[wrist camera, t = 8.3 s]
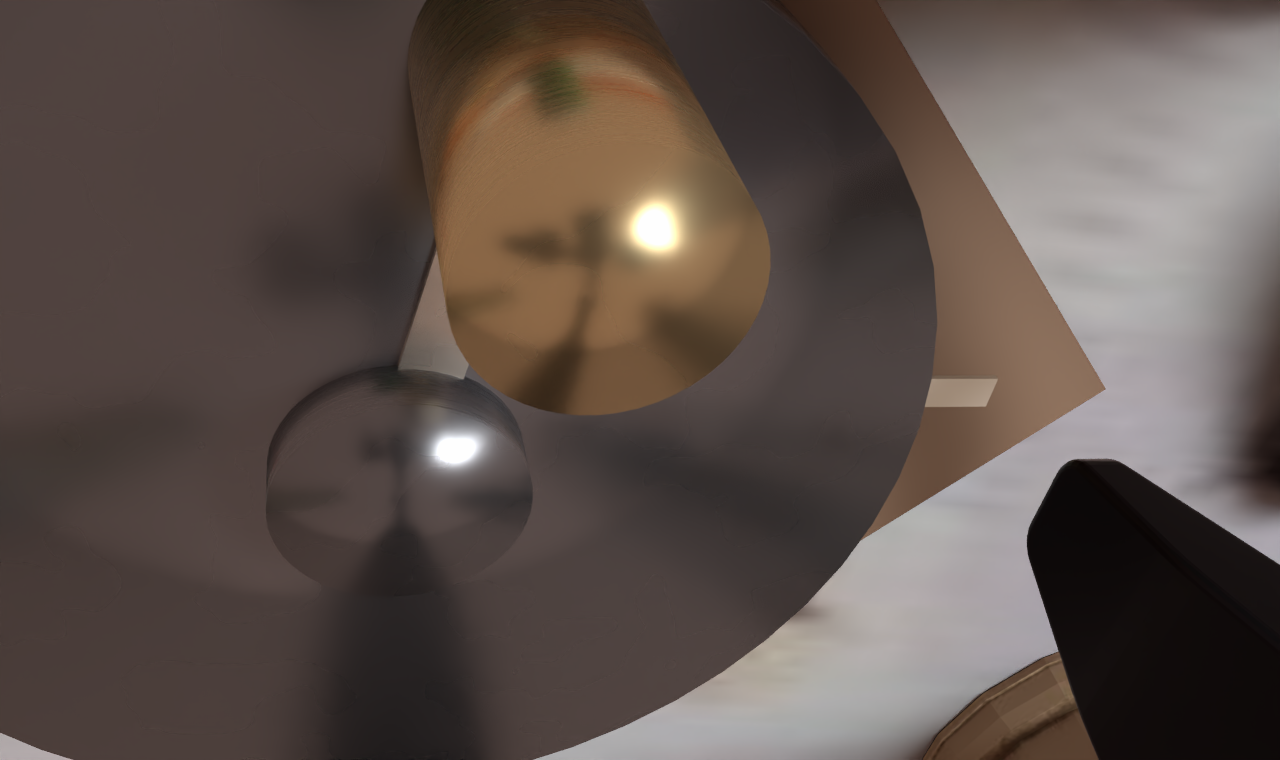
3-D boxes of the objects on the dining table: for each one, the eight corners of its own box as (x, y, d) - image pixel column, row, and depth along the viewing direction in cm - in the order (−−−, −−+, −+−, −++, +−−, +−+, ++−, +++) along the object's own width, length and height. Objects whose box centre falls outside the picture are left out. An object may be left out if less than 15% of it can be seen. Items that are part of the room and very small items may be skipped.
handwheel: (676, 744, 29) (754, 1026, 24) (-229, 710, 22) (-376, 1098, 17) (1101, 52, 19) (1379, 290, 14) (-279, -407, 12) (-658, -248, 7)
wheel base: (357, 741, 32) (362, 851, 29) (-543, 272, 19) (-657, 400, 17) (1037, 302, 27) (1108, 391, 25) (434, -696, 14) (462, -705, 12)
